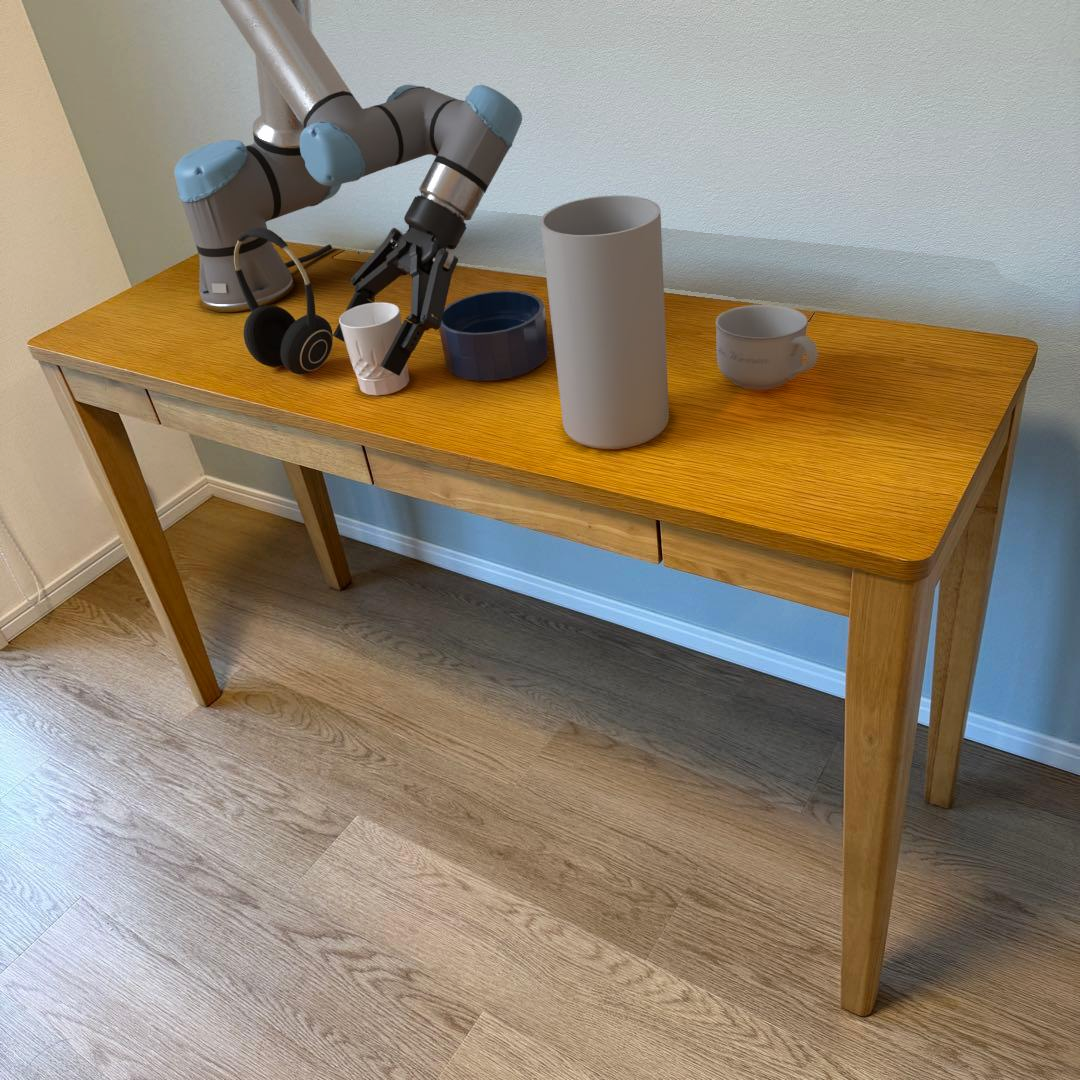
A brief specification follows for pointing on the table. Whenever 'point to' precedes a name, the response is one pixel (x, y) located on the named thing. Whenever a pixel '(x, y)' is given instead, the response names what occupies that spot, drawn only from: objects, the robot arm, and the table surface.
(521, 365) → the navy blue bowl
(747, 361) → the teacup
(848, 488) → the table surface
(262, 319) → the headphones
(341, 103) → the robot arm
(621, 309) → the cylinder vase
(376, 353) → the white cup
